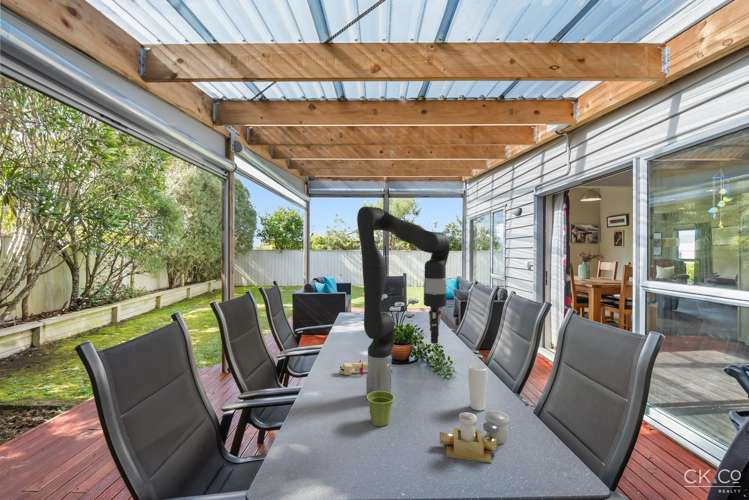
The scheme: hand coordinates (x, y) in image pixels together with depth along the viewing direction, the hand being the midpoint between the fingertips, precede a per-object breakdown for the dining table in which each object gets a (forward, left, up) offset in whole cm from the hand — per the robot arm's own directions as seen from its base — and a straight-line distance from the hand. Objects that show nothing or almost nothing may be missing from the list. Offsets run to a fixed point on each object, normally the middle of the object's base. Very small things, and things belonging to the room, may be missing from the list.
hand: (434, 339), depth 114 cm
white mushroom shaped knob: (+10, -14, -27) cm, 32 cm away
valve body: (+10, -13, -28) cm, 33 cm away
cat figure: (-34, +41, -29) cm, 60 cm away
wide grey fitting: (+19, -5, -28) cm, 34 cm away
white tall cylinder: (+15, +15, -28) cm, 35 cm away
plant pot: (-18, -3, -28) cm, 34 cm away
